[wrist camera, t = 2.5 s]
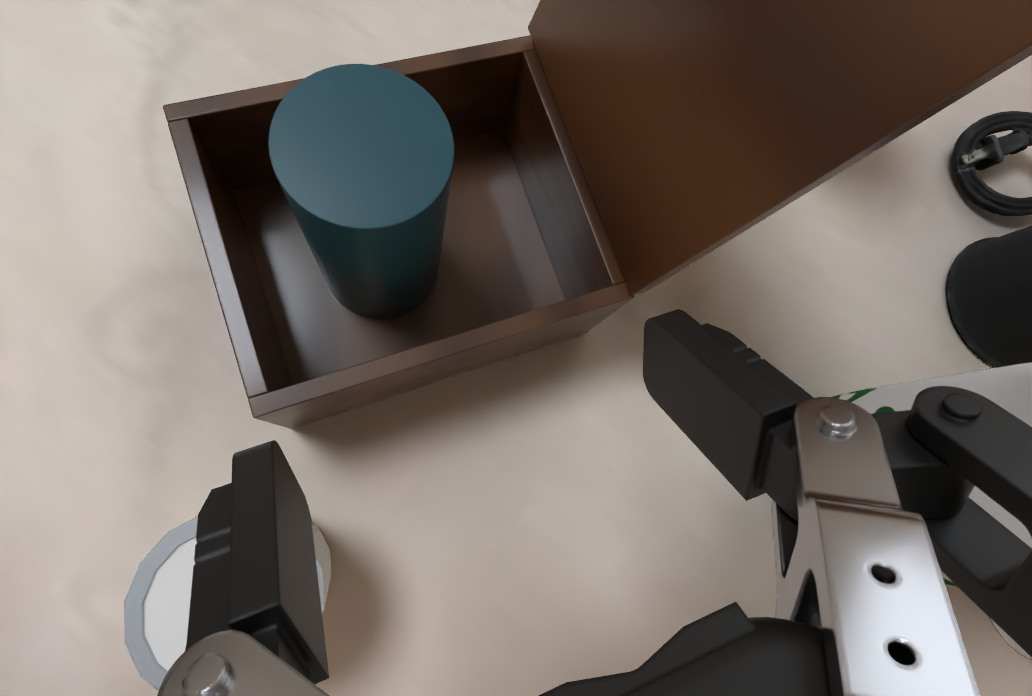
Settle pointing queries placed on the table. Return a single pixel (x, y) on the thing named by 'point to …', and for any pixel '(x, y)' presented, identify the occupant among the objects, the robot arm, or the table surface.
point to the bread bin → (464, 254)
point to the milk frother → (993, 249)
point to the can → (366, 183)
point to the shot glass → (177, 600)
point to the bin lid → (749, 102)
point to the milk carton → (1011, 387)
